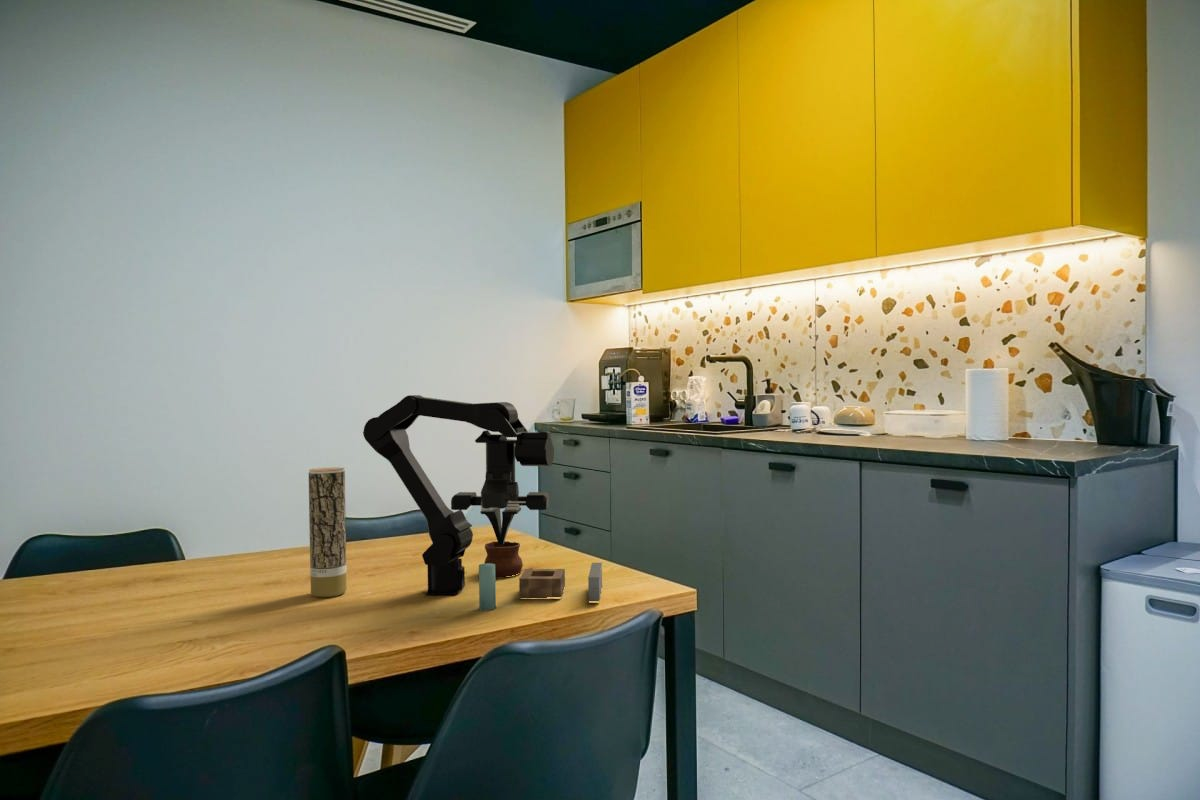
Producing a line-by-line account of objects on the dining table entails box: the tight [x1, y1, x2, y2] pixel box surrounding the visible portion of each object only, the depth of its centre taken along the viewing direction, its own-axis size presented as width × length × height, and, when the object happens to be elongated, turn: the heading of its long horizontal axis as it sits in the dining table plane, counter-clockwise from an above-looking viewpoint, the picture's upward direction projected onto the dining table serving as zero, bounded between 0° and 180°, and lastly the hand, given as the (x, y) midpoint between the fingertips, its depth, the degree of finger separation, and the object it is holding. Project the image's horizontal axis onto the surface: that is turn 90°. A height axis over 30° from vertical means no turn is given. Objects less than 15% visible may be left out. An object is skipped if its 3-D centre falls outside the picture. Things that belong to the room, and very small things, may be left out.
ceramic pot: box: [483, 541, 524, 577], centre depth 168 cm, size 18×18×7 cm
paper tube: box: [308, 467, 348, 598], centre depth 152 cm, size 7×7×25 cm
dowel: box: [478, 563, 497, 611], centre depth 141 cm, size 3×3×8 cm
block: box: [518, 568, 566, 599], centre depth 150 cm, size 8×8×4 cm
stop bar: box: [587, 562, 603, 602], centre depth 149 cm, size 2×12×5 cm, turn 177°
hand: (501, 544), depth 151 cm, fingers closed
